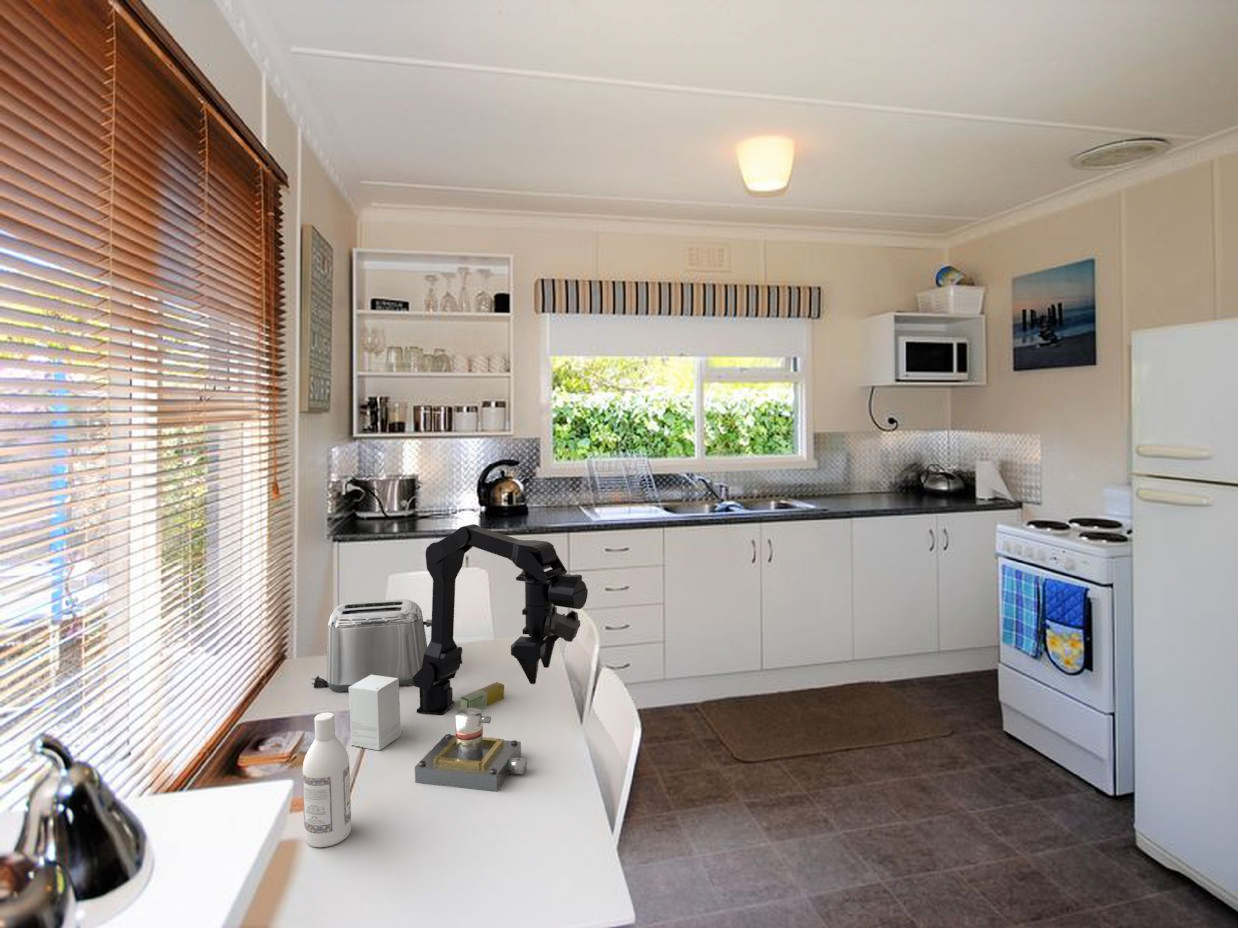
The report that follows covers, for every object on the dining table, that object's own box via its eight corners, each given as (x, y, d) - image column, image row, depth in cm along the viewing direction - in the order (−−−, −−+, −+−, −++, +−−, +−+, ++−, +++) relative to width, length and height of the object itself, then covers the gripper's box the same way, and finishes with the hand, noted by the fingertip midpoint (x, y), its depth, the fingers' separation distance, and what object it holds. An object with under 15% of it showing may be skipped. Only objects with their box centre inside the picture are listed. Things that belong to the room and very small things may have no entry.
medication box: (466, 717, 155) (466, 700, 154) (458, 714, 156) (458, 697, 156) (504, 699, 164) (504, 683, 164) (496, 696, 166) (496, 680, 166)
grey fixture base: (415, 782, 127) (414, 761, 127) (446, 748, 140) (445, 729, 139) (512, 793, 123) (512, 771, 123) (535, 757, 136) (535, 738, 136)
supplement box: (402, 735, 146) (400, 677, 145) (379, 751, 139) (377, 690, 138) (373, 730, 148) (371, 673, 147) (349, 745, 141) (347, 686, 140)
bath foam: (338, 817, 116) (334, 702, 114) (359, 833, 111) (355, 714, 110) (297, 836, 111) (292, 716, 109) (317, 854, 106) (313, 729, 105)
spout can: (451, 758, 130) (450, 717, 129) (462, 746, 135) (461, 706, 134) (485, 762, 128) (484, 720, 128) (495, 749, 133) (494, 709, 133)
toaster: (433, 686, 172) (431, 611, 170) (306, 698, 165) (303, 620, 164) (434, 662, 188) (433, 594, 187) (319, 672, 181) (316, 601, 180)
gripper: (563, 617, 133) (564, 696, 134) (587, 593, 151) (587, 662, 152) (509, 614, 135) (510, 691, 136) (538, 590, 153) (539, 658, 154)
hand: (539, 675), depth 145 cm, fingers open, 9 cm apart
